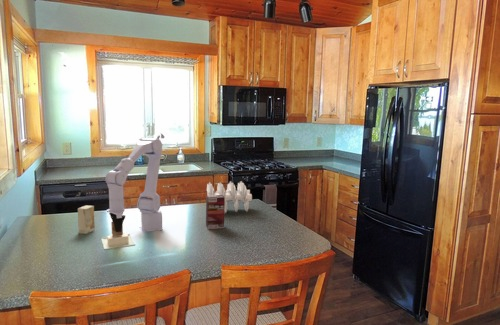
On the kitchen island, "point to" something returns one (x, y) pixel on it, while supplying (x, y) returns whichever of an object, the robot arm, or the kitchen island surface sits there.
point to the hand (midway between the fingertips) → (117, 229)
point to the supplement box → (215, 211)
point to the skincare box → (86, 219)
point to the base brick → (117, 239)
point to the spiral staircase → (232, 194)
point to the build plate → (106, 246)
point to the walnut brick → (115, 231)
